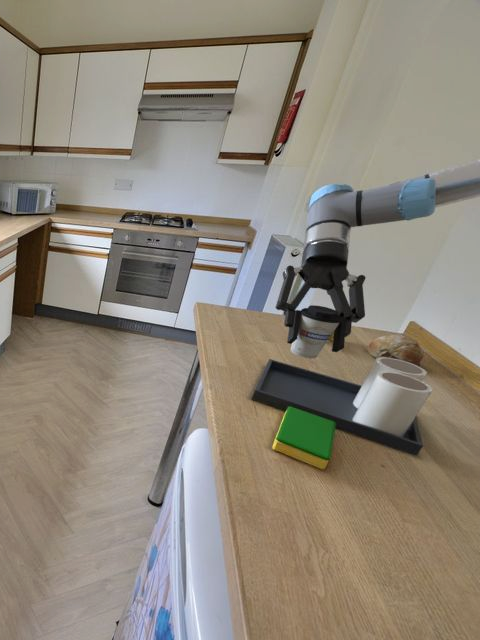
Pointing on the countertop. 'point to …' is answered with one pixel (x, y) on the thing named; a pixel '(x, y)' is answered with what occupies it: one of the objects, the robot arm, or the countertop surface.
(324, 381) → the cup tray
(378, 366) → the cream cup
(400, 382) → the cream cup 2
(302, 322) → the coffee cup
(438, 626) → the countertop surface
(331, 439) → the dish sponge
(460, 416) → the countertop surface
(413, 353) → the bread roll
